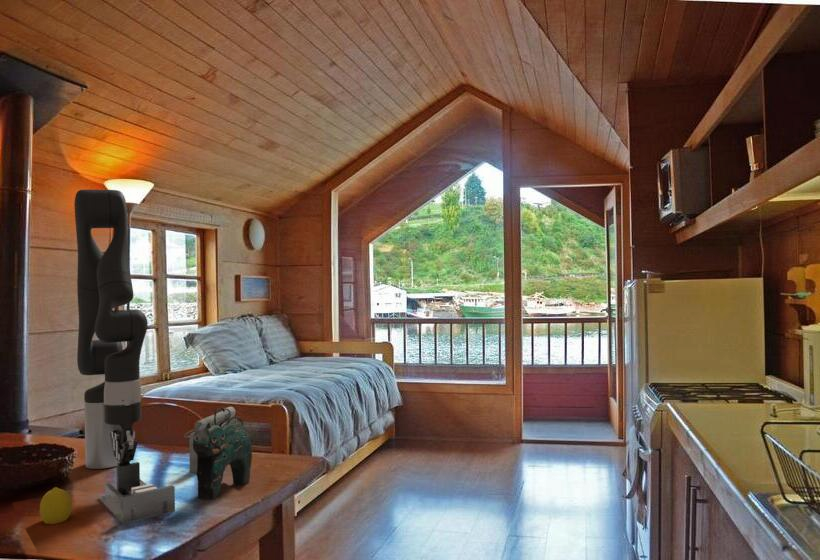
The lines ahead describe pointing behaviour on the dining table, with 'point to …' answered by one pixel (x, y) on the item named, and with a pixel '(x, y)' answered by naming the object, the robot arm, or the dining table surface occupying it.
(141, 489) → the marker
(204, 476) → the green animal figurine
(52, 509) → the lemon
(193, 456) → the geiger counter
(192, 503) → the dining table surface
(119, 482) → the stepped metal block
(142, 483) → the grey open box
